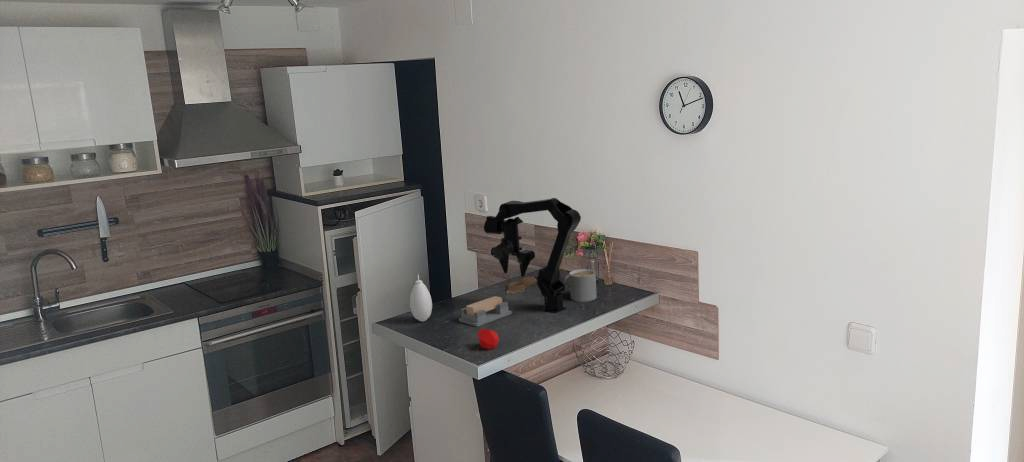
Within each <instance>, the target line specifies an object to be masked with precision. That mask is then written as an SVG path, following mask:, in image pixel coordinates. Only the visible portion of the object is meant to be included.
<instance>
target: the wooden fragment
mask: <svg viewBox="0 0 1024 462" xmlns="http://www.w3.org/2000/svg"><path fill="white" fill-rule="evenodd" d="M537 280H538V279H536V278H535V277H534V276H533V277H531V278H529V276H527V277H523V278H521V279H518V280H514V281H512V282H510V283H508V284H506V295H508V293H509V295H510V293H512V294H518V293H517V292H520V293H524V292H525V291H526V289H528V287H531V286H533V285H535V284H536V283H537Z"/></svg>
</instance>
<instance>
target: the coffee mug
mask: <svg viewBox="0 0 1024 462" xmlns="http://www.w3.org/2000/svg"><path fill="white" fill-rule="evenodd" d="M596 277H597V276H596V272H595V270H593V269H587V268H586V269H585V268H584V269H575V270H572V271H570V272H569V274H568V275H566V276H565V278H564V285H565V289H567V290H568V291H570V293H569V294H570V300H571V301H573V302H580V303H581V302H582V303H585V302H592V301H594V300H595V299H597V283H596V282H597V281H596V280H597V278H596Z"/></svg>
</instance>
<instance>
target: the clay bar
mask: <svg viewBox="0 0 1024 462" xmlns="http://www.w3.org/2000/svg"><path fill="white" fill-rule="evenodd" d="M500 303H503V297H501V296H496V295H494V296H491V297H488V298H486V299H482V300H479V301H477V302H473V303H471V304H469V305H468V304H467V305H466V306H465V307H466V311H467V314H469V315H472V316H474V313H475V312H478V311H480V310H485V311H489V310H492V309H495V308H497V304H500Z"/></svg>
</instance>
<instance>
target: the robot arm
mask: <svg viewBox="0 0 1024 462" xmlns="http://www.w3.org/2000/svg"><path fill="white" fill-rule="evenodd" d="M543 211H548V212H549V214H550V215H551V216H552V218H553V219H554V220H555V221H556V222H557V225H556V228H557V234H556V238H555V241H554V244H553V246H552V249H551V253H550V256H549V259H548V262H547V265H546V266H544V267H542V268H540V269H539V270H538V275H537V277H536V278H535V279H536V280H537V282H536V285H537V286H538V289H539V290H540V293H541V296H542V297H544V300H543V301H544V307H543V308H542V311H546V312H550V313H555V314H556V313H558V312H561V311H563V310H565V309H567V306H564V299H563V293H562V292H564V291H565V289H566V286H565V283H563V282H562V281H561V280H560V276H561V274H560V267H561V264H562V262H563V258H564V255H565V253H566V251H567V247H568V244H569V241H570V238H571V236H572V234H573V233H574V232H575V230H576V229H577V227H578V226H579V224H580V222H581V219H582V217H581V214H580V212H579V211H577V210H576V209H573V208H572V207H571V206H569V205H568V204H565V203H563V202H561V201H560V200H559V199H558V198H556V197H551V198H546V199H540V200H532V201H520V200H509V201H507V202H503V203H501V204H500V206H499V208H498V212H497V214H496V216H493V215H488V216H486V220H485V221H484V226H483V230H484V232H485V234H487V235H490V234H491V235H502V234H503V237H501V239H500V243H499V244H497V245H496V246H493V247H491V249H490V256H493V258H495V259H496V260H497V261H498V262H499V264H500V266H501V269H502V270H503V273H504V274H508V269H509V260H510V259H509V258H510V256H514V257H516V258H517V260H516V262H517V263H518V264H519V272H520V276H521V277H522V278H525V275H526V273H527V269H528V267H529V265H530V263H531V261H533V260H534V259H536V252H535V251H534V250H531V249H524V250H523V247H522V246H520V240H522V236H520V235H519V225H520V224H522V223H524V221H523V220H522V219H521V218H520V217H519V215H522V214H528V213H534V212H535V213H537V212H543ZM513 217H514V218H513ZM506 219H507V220H506Z"/></svg>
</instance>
